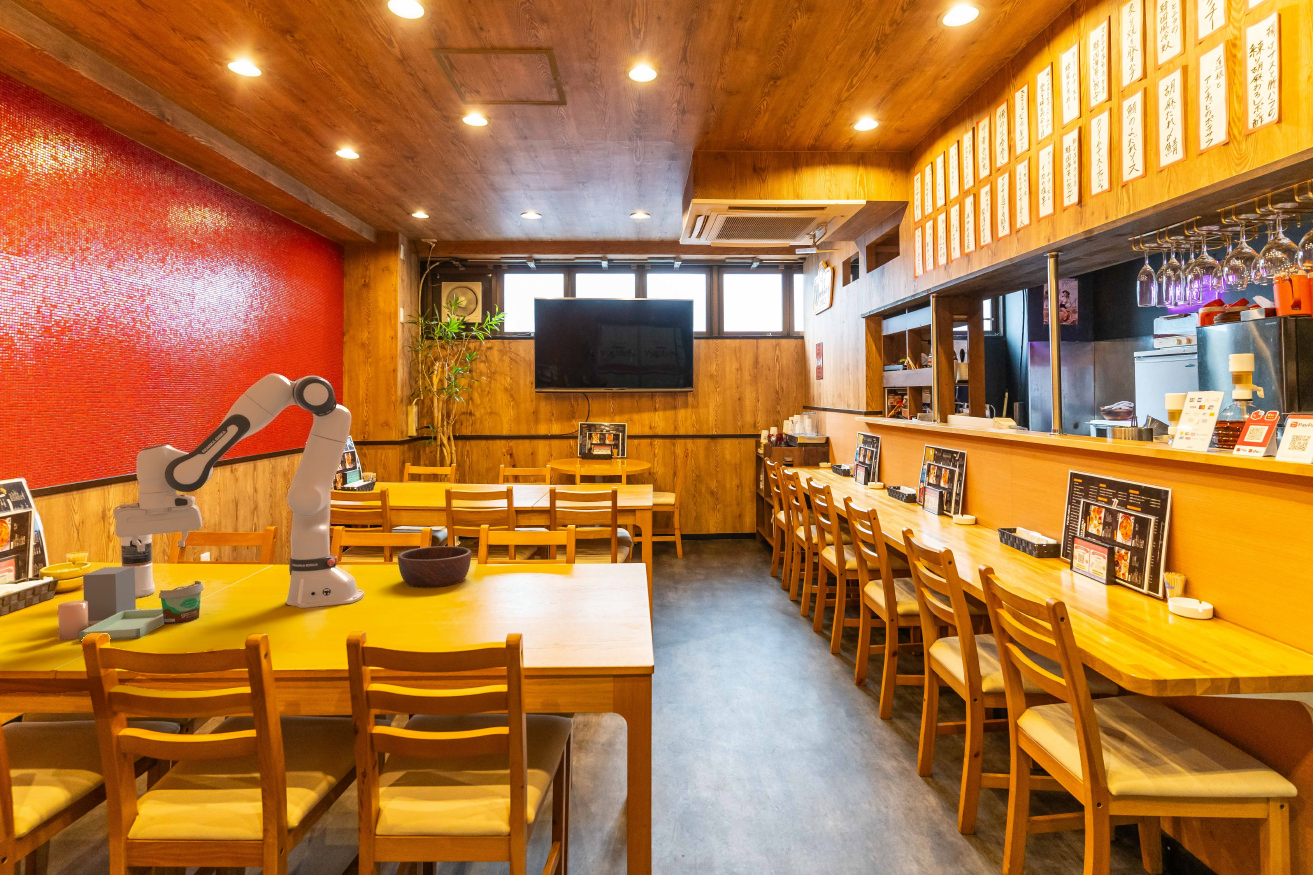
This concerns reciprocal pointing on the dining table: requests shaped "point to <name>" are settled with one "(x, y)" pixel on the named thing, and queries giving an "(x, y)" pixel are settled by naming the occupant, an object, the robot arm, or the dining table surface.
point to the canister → (72, 619)
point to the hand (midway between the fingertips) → (161, 548)
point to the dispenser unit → (109, 592)
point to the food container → (181, 603)
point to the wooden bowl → (434, 566)
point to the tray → (128, 624)
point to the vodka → (139, 563)
